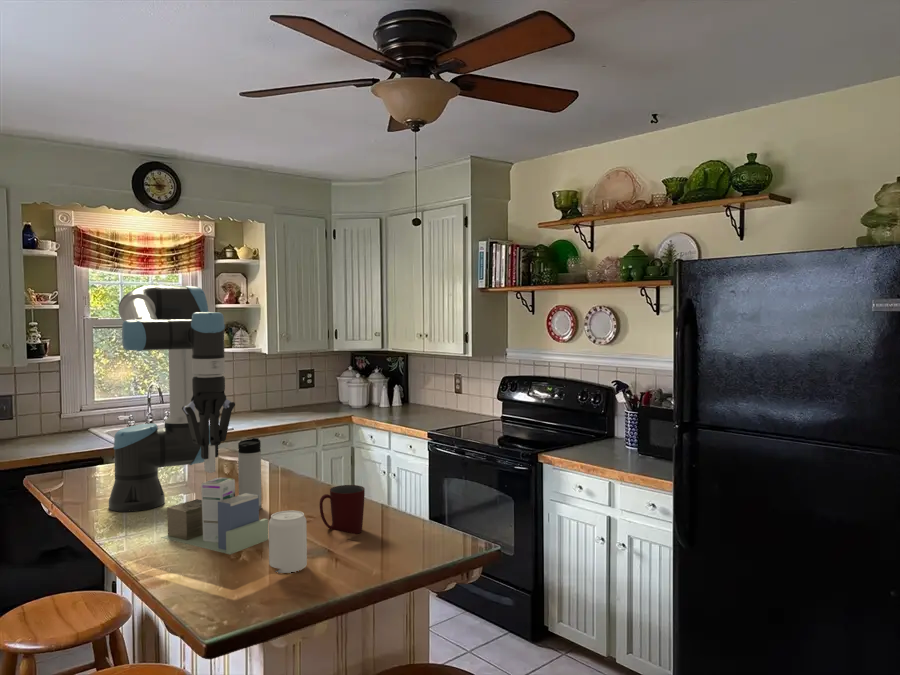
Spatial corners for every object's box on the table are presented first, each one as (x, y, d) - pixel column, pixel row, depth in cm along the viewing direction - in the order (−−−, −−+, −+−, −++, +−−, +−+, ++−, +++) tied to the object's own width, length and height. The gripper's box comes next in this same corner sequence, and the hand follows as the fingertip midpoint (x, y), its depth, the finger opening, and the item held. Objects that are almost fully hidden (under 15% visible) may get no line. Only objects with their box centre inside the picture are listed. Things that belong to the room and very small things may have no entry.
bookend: (167, 535, 174) (167, 507, 174) (197, 526, 182) (197, 499, 181) (186, 540, 170) (186, 511, 170) (216, 530, 178) (215, 502, 178)
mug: (328, 541, 174) (327, 497, 174) (313, 532, 181) (312, 489, 181) (371, 532, 181) (370, 490, 180) (355, 524, 188) (354, 483, 188)
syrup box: (223, 543, 168) (222, 483, 167) (201, 541, 169) (200, 482, 169) (236, 536, 173) (235, 478, 173) (215, 534, 175) (214, 476, 174)
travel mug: (266, 506, 205) (265, 438, 205) (253, 512, 199) (252, 442, 198) (248, 504, 207) (247, 437, 207) (234, 510, 201) (233, 441, 200)
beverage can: (272, 562, 159) (272, 510, 159) (308, 561, 160) (308, 509, 160) (266, 576, 151) (265, 520, 151) (304, 574, 152) (303, 519, 151)
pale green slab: (161, 543, 173) (160, 517, 173) (201, 530, 183) (200, 505, 183) (230, 560, 161) (229, 532, 160) (268, 545, 171) (268, 519, 171)
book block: (218, 548, 165) (217, 501, 164) (247, 537, 172) (246, 493, 172) (230, 551, 163) (229, 504, 162) (259, 540, 170) (258, 495, 170)
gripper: (190, 378, 164) (191, 478, 165) (240, 374, 173) (241, 469, 174) (175, 376, 169) (177, 473, 170) (225, 372, 178) (226, 464, 180)
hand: (209, 471), depth 172 cm, fingers closed
